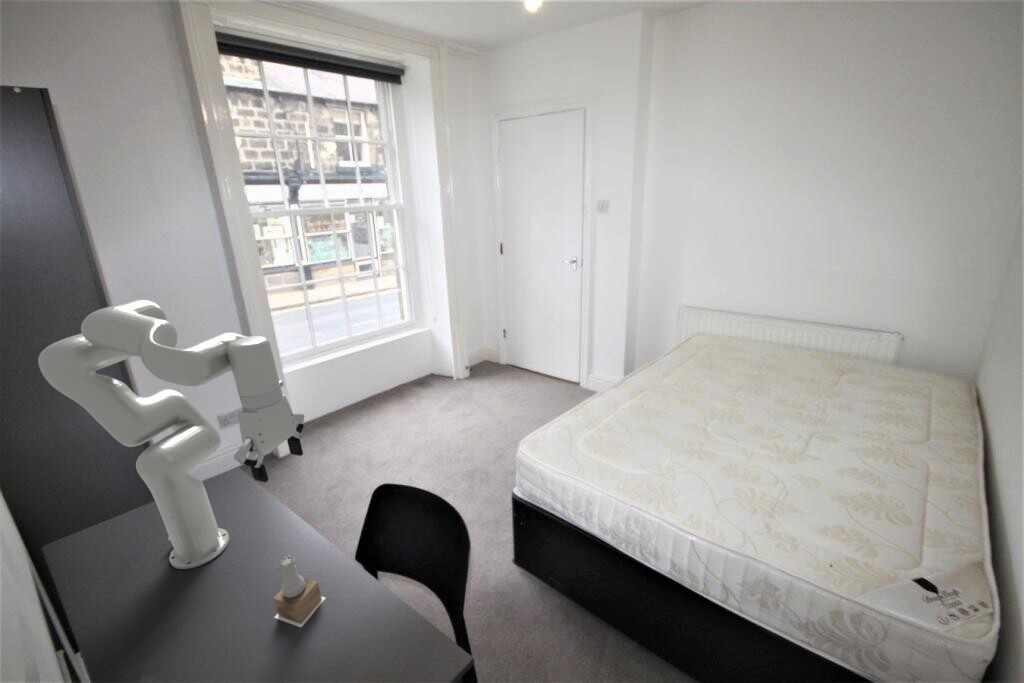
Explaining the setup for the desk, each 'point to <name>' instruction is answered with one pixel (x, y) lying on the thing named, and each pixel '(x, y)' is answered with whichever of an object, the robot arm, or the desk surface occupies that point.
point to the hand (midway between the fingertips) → (280, 466)
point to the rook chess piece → (291, 578)
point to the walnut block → (298, 602)
